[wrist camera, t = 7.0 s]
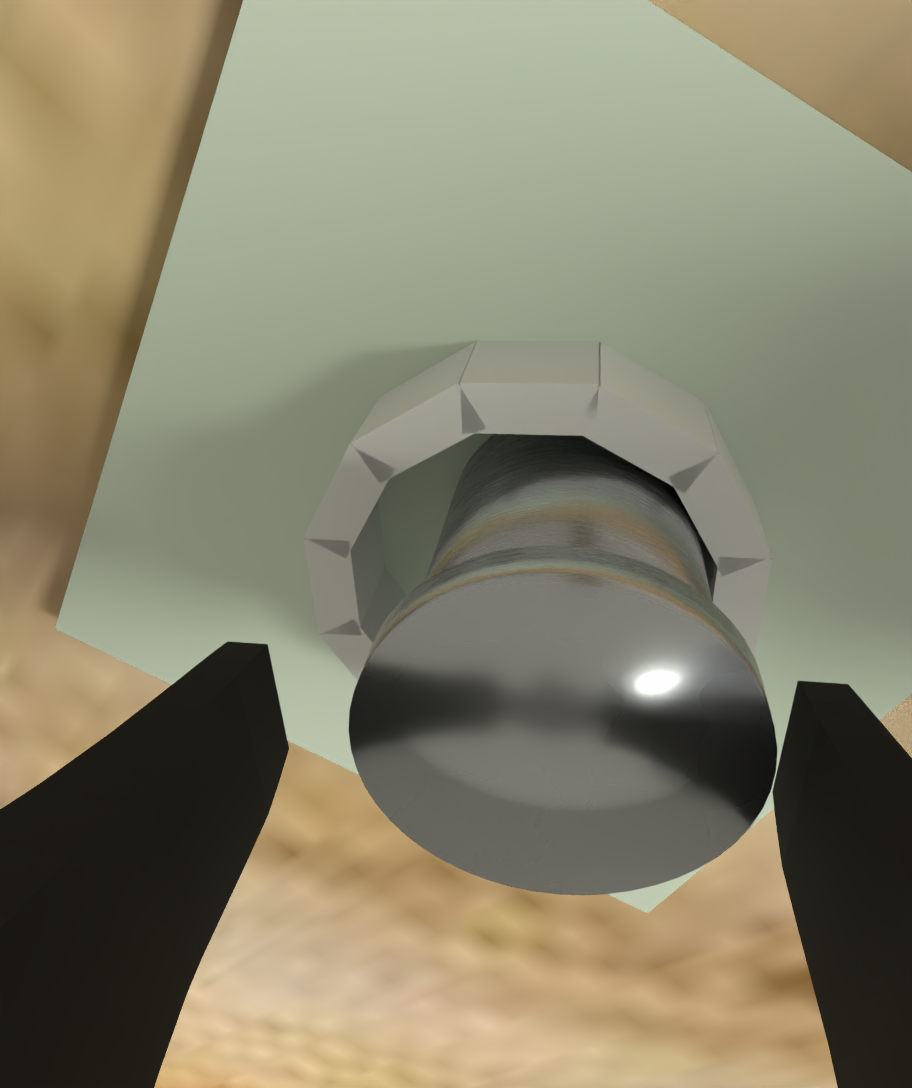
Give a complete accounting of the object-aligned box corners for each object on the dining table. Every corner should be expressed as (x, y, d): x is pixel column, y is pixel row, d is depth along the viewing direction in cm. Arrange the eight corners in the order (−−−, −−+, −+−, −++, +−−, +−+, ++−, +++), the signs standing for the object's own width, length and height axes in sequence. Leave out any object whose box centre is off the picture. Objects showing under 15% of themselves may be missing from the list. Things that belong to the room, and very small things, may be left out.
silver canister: (705, 635, 16) (754, 909, 11) (445, 630, 17) (378, 880, 12) (727, 381, 13) (805, 586, 8) (417, 391, 14) (314, 581, 9)
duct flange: (1237, 387, 13) (1371, 457, 11) (646, 892, 21) (651, 990, 19) (323, -208, 11) (251, -273, 8) (69, 613, 19) (0, 687, 17)
